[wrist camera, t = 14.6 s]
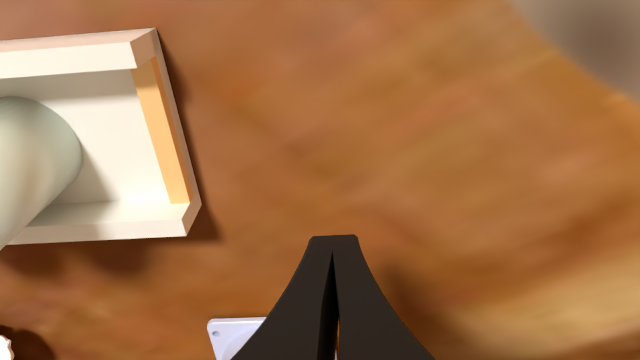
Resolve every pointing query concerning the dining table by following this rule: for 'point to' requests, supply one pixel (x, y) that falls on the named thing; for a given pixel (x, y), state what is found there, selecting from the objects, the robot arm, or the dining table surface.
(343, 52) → the dining table surface
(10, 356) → the white irregular branching piece
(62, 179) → the jar
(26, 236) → the tray
